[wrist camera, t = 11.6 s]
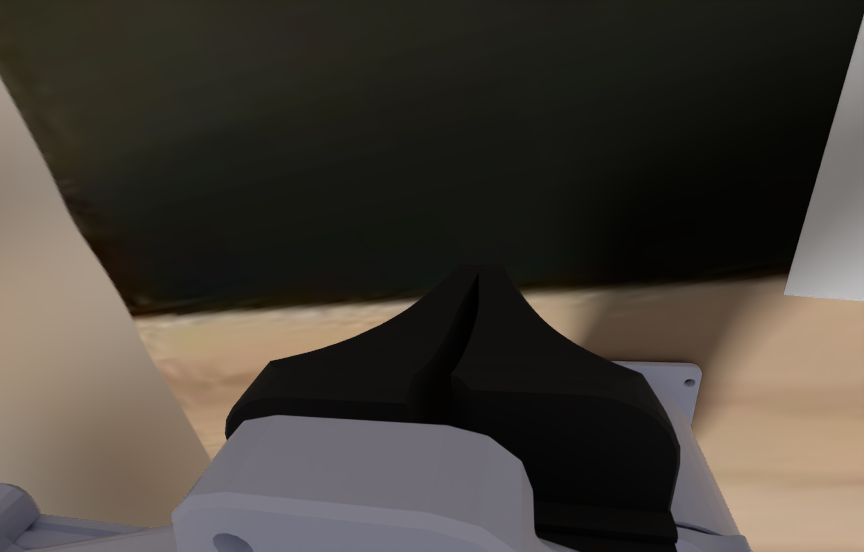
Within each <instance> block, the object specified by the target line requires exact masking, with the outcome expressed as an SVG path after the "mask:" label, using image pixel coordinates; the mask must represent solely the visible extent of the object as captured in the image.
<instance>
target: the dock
mask: <svg viewBox="0 0 864 552" xmlns="http://www.w3.org/2000/svg"><path fill="white" fill-rule="evenodd" d="M783 295H792V296H804V297H817V298H830V299H843V300H855V301H864V16H863V19H862V23H861V26H860V30H859V33H858V37H857V40H856V44H855V47H854V51H853V54H852V57H851V61H850V64H849V68H848V71H847V75H846V78H845V82H844V85H843V89H842V92H841V96H840V99H839V103H838V106H837V110H836V113H835V117H834V120H833V123H832V127H831V130H830V134H829V137H828V141H827V144H826V148H825V151H824V155H823V158H822V162H821V165H820V169H819V172H818V176H817V179H816V183H815V186H814V189H813V193H812V196H811V200H810V203H809V207H808V210H807V214H806V217H805V221H804V224H803V228H802V231H801V235H800V238H799V242H798V245H797V249H796V252H795V255H794V259H793V262H792V266H791V269H790V273H789V276H788V280H787V283H786V287H785V290H784V294H783Z"/></svg>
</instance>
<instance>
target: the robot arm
mask: <svg viewBox="0 0 864 552" xmlns="http://www.w3.org/2000/svg"><path fill="white" fill-rule="evenodd" d="M701 377H702V372H701V370H700V368H699V367H698V365H696V364H693V363H669V362H627V361H608V360H606V359H604V358H602V357H600V356H598V355H596V354H594V353H592V352H590V351H588V350H586V349H584V348H582V347H580V346H579V345H577V344H575V343H574V342H572V341H570V340H569V339H567V338H566V337H565V336H563V335H562V334H560V333H559V332H557V331H556V330H555V329H553V328H552V327H551V326H550V325H548V324H547V323H546V322H545V321H544V320H543V319H542V318H541V317H540V316H539V315H538V314H537V313H536V312H535V310H534V309H533V308H532V307H531V306H530V305H529V303H528V302H527V301H526V300H525V298H524V297H523V295H522V294H521V293H520V291H519V290H518V288H517V286H516V285H515V283H514V281H513V279H512V277H511V275H510V273H509V268H508V267H506V266H505V265H460V266H459V267H457V268H456V269H455V270H454V271H453V272H452V273H451V274H450V275H449V276H448V277H446V278H445V279H444V280H443V281H442V282H441V283H440V284H439V285H437V286H436V287H435V288H434V289H433V290H432V291H430V292H429V293H428V294H427V295H425V296H424V297H423V298H421V299H420V300H419V301H417V302H416V303H415V304H413V305H412V306H411V307H409V308H408V309H406V310H405V311H403V312H402V313H400V314H399V315H397V316H395V317H393V318H392V319H390V320H388V321H387V322H385V323H383V324H381V325H379V326H377V327H375V328H372V329H370V330H368V331H366V332H364V333H362V334H359V335H357V336H355V337H353V338H350V339H347V340H345V341H342V342H339V343H336V344H333V345H330V346H327V347H324V348H321V349H318V350H314V351H311V352H307V353H303V354H299V355H295V356H291V357H287V358H282V359H278V360H273V361H270V362H269V363H268V364H267V366H266V367H265V368H264V369H263V370H262V372H261V373H260V374H259V375H258V377H257V378H256V379H255V380H254V382H253V383H252V384H251V385H250V386H249V388H248V389H247V390H246V391H245V393H244V394H243V395H242V396H241V398H240V399H239V400H238V401H237V403H236V404H235V405H234V406H233V408H232V410H231V411H230V413H229V415H228V417H227V419H226V428H225V435H226V439H227V441H226V443H225V444H224V445H223V446H222V448H221V449H220V450H219V452H218V453H217V454H216V456H215V457H214V458H213V460H212V461H211V462H210V464H209V465H208V466H207V468H206V469H205V470H204V472H203V473H202V474H201V476H200V477H199V478H198V480H197V481H196V482H195V484H194V485H193V486H192V488H191V489H190V490H189V492H188V493H187V494H186V496H185V497H184V498H183V500H182V501H181V502H180V504H179V505H178V506H177V508H176V509H175V510H174V512H173V513H172V514H171V516H172V522H173V524H171V525H165V526H160V527H154V528H148V527H140V526H132V525H124V524H115V523H108V522H100V521H92V520H84V519H76V518H67V517H60V516H53V515H45V514H41V512H40V508H39V507H38V505H37V503H36V502H35V500H34V499H33V498H32V497H31V496H30V495H29V494H28V493H27V492H26V491H25V490H23V489H21V488H20V487H18V486H15V485H12V484H5V483H0V552H752V550H751V548H750V546H749V544H748V542H747V539H746V537H745V536H743V535H741V534H740V532H739V530H738V528H737V526H736V523H735V521H734V519H733V517H732V515H731V513H730V511H729V508H728V506H727V504H726V502H725V500H724V498H723V495H722V493H721V491H720V489H719V487H718V485H717V483H716V480H715V478H714V476H713V474H712V472H711V470H710V467H709V465H708V463H707V461H706V459H705V457H704V455H703V452H702V450H701V448H700V446H699V444H698V442H697V440H696V437H695V435H694V433H693V431H692V429H691V423H692V419H693V414H694V409H695V405H696V400H697V395H698V391H699V386H700V381H701ZM687 379H692V380H691V381H689V382H685V381H686V380H687Z"/></svg>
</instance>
